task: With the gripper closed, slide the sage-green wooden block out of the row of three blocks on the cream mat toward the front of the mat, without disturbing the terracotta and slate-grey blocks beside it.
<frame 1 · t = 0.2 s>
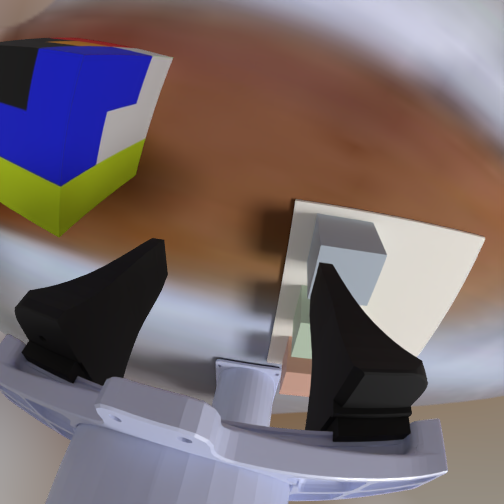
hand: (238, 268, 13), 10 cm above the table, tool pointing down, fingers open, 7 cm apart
mat: (369, 309, 26), on the table
slate block: (339, 242, 23), resting on mat
terracotta block: (305, 351, 30), resting on mat
puzzle toy: (102, 101, 19), on the table
sage block: (320, 306, 27), resting on mat
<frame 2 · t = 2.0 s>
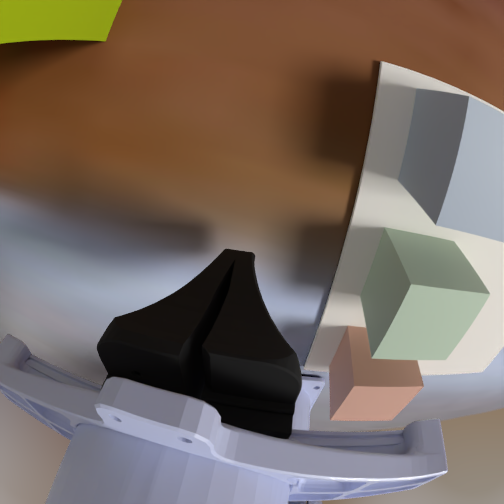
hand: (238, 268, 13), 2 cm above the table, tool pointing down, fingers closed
mat: (469, 276, 14), on the table
slate block: (448, 147, 11), resting on mat
terracotta block: (368, 350, 18), resting on mat
sage block: (407, 269, 14), resting on mat
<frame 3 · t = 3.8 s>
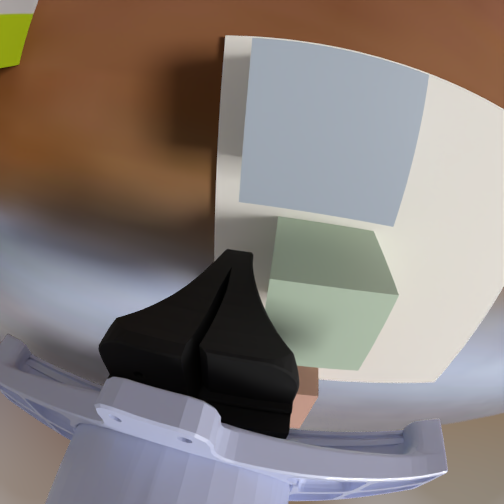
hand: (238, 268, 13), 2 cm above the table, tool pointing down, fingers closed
mat: (387, 271, 14), on the table
slate block: (320, 115, 10), resting on mat
terracotta block: (275, 349, 18), resting on mat
sage block: (317, 264, 14), resting on mat, touching gripper
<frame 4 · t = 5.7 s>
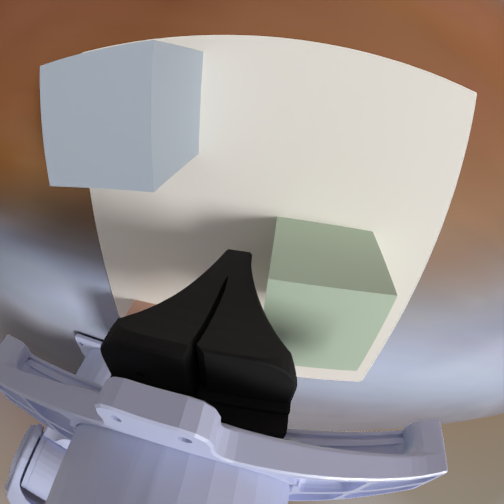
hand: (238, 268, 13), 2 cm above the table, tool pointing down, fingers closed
mat: (254, 251, 15), on the table
slate block: (151, 103, 11), resting on mat
sage block: (317, 264, 14), resting on mat, touching gripper
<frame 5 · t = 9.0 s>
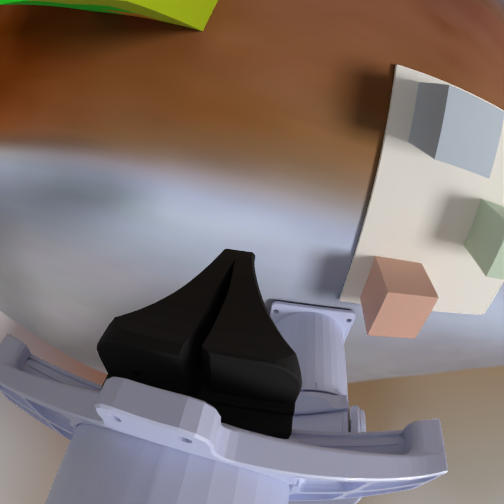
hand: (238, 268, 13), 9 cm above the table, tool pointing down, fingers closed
mat: (464, 218, 19), on the table
slate block: (440, 120, 16), resting on mat
terracotta block: (390, 280, 23), resting on mat
sage block: (489, 227, 19), resting on mat
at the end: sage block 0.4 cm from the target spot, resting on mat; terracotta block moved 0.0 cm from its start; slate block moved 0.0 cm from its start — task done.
